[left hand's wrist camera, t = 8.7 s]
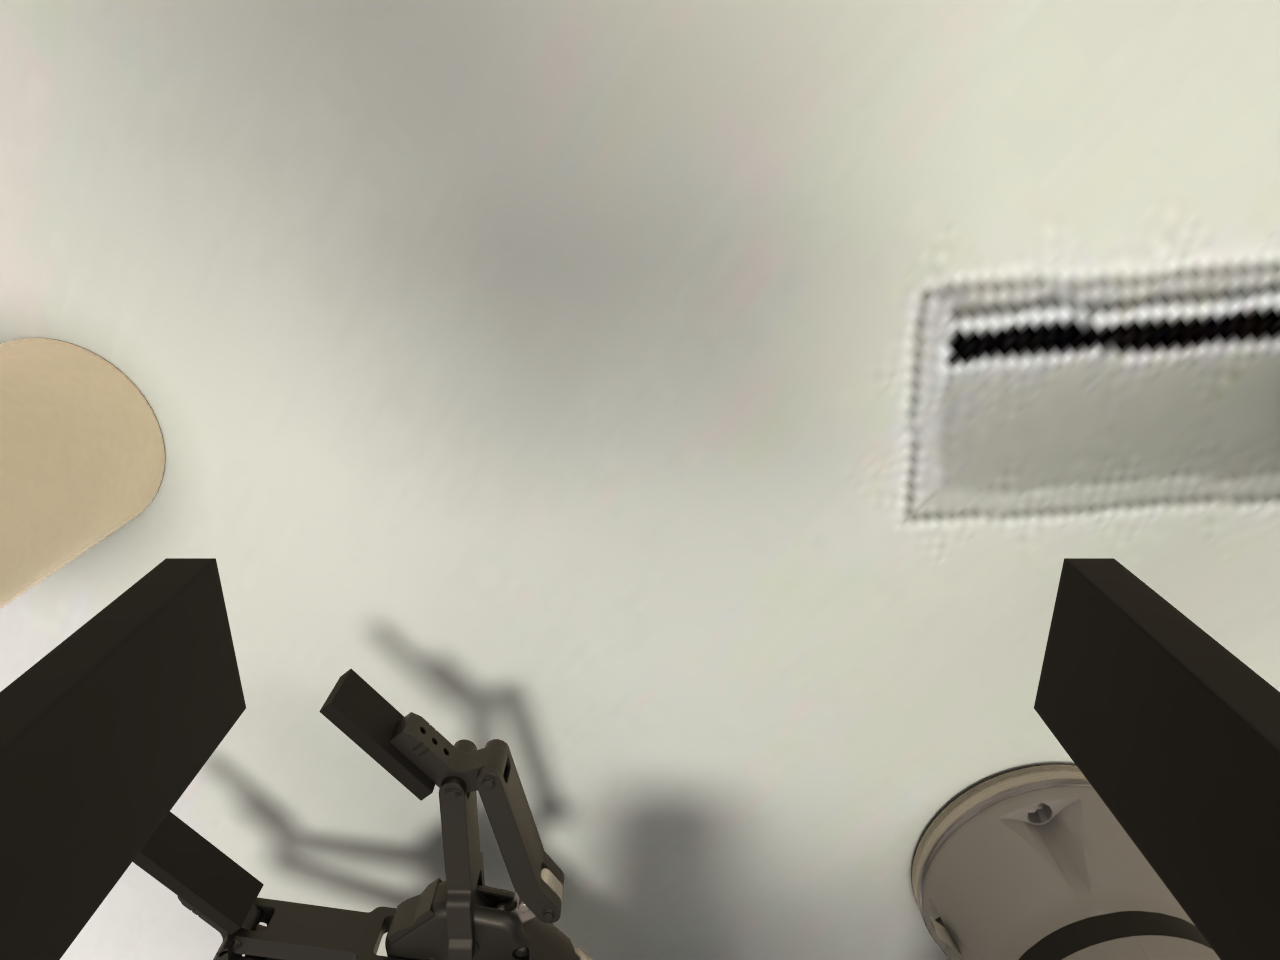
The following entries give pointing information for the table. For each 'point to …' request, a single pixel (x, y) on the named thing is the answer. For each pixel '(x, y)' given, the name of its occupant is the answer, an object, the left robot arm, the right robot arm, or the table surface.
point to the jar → (67, 457)
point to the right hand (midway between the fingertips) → (238, 763)
